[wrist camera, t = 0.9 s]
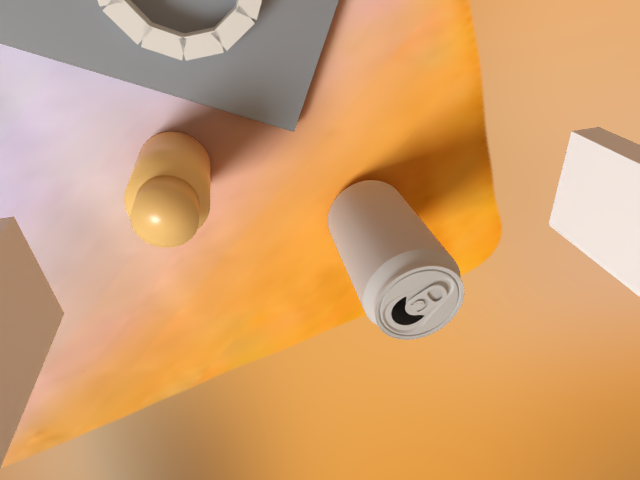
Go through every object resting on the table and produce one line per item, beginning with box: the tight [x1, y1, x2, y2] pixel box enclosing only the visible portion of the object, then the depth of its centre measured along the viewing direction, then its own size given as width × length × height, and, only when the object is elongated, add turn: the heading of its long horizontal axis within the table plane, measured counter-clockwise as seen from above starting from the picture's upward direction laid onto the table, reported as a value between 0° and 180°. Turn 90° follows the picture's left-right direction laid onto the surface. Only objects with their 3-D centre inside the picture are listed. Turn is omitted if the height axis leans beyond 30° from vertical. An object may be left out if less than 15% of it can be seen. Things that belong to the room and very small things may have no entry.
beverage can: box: [328, 180, 464, 340], centre depth 31 cm, size 6×6×12 cm
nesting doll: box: [124, 131, 210, 247], centre depth 28 cm, size 5×5×8 cm
